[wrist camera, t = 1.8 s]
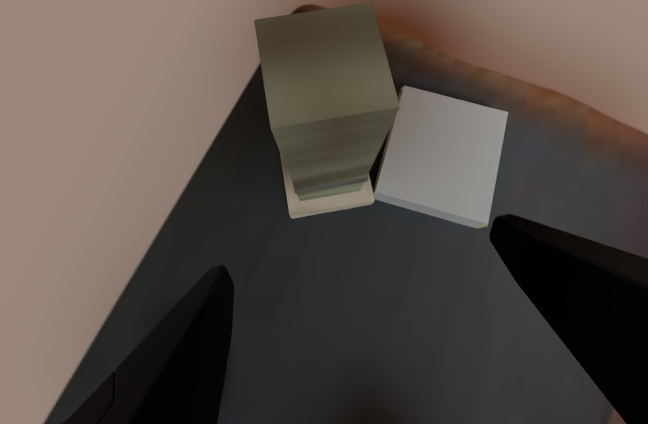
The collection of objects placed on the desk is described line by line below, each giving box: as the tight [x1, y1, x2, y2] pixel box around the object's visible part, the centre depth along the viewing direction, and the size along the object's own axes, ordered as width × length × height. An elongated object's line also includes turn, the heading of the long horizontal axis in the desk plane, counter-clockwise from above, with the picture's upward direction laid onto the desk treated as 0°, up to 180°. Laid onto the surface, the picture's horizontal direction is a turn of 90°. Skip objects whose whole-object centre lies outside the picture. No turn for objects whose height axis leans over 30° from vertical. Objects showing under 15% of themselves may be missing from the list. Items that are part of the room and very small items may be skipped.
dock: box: [373, 85, 508, 229], centre depth 22 cm, size 9×10×2 cm
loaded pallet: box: [254, 2, 400, 219], centre depth 17 cm, size 7×7×13 cm
